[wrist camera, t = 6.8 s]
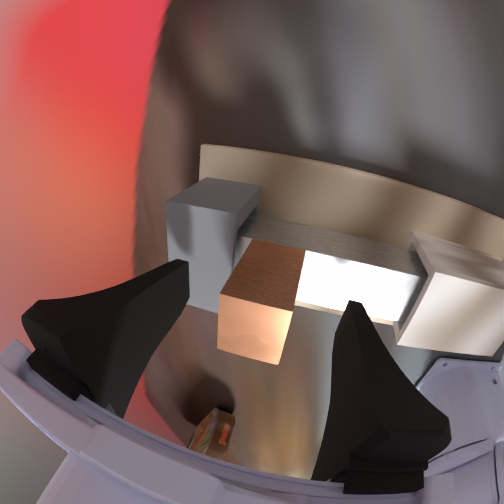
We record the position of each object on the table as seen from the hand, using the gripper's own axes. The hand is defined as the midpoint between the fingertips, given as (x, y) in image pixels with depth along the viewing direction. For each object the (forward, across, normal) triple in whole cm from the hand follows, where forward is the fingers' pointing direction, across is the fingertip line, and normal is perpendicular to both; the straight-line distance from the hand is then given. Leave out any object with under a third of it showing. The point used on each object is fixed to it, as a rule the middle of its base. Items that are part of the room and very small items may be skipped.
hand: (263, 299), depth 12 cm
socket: (+7, +4, 0) cm, 8 cm away
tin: (+7, +4, +30) cm, 31 cm away
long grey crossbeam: (+5, -3, 0) cm, 6 cm away
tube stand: (+7, -5, 0) cm, 9 cm away
